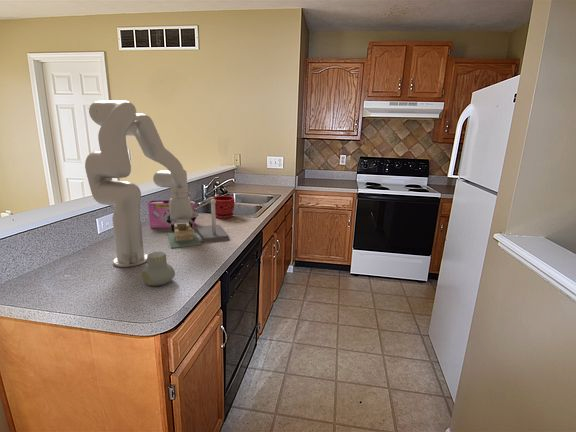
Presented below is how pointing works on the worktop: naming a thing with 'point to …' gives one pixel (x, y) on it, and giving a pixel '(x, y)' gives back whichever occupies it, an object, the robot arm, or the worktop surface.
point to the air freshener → (157, 270)
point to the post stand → (212, 229)
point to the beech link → (183, 231)
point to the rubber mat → (183, 241)
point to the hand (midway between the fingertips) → (182, 231)
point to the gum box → (161, 209)
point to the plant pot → (224, 206)
